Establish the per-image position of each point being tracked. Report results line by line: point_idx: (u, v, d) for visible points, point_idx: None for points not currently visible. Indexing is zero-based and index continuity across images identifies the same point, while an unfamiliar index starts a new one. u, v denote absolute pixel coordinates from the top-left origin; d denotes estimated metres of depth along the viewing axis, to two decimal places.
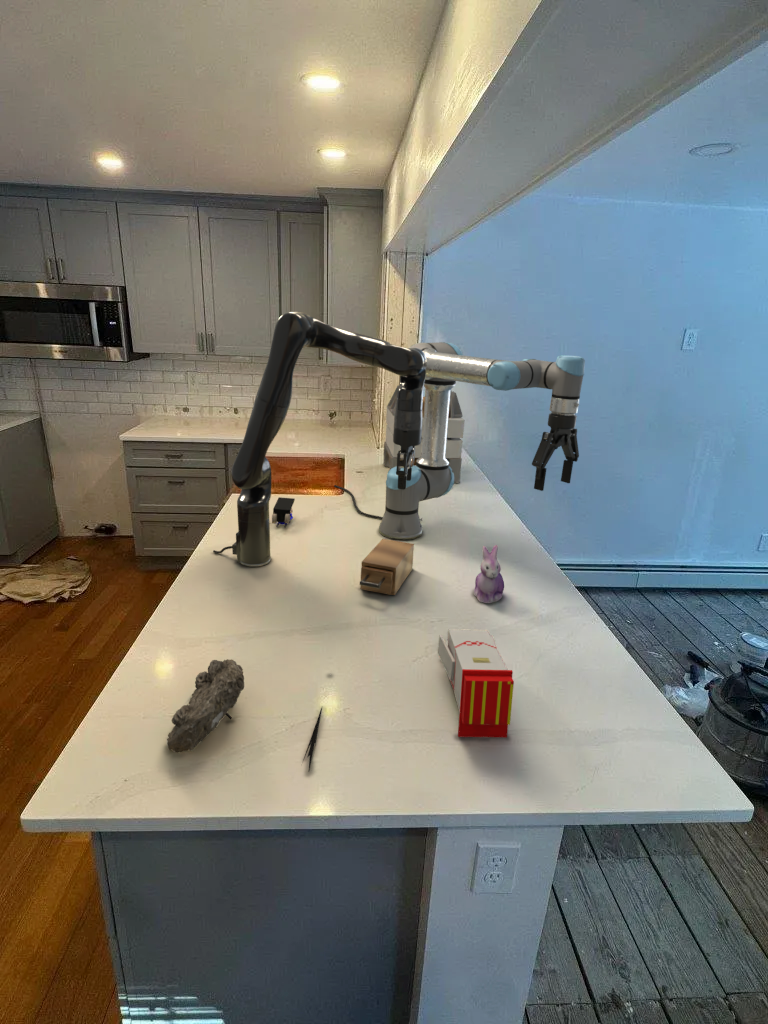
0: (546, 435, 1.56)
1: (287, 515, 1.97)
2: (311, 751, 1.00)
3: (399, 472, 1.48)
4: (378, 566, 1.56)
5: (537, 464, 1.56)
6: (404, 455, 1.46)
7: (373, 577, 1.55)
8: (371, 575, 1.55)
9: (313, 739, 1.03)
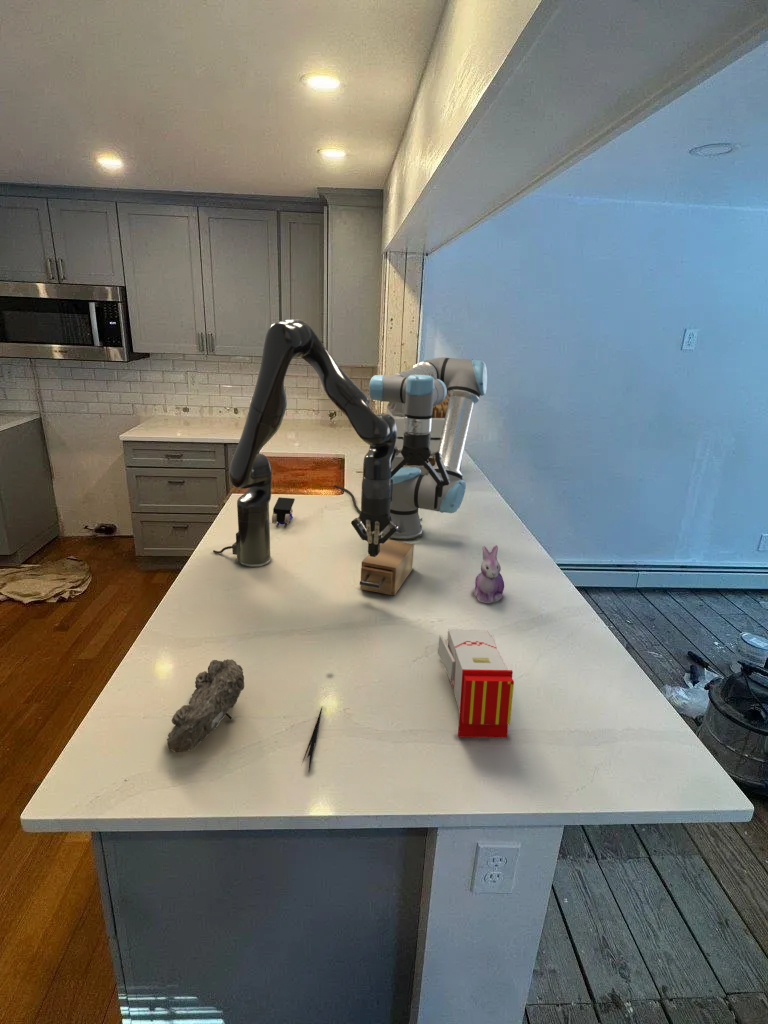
0: None
1: (287, 515, 1.97)
2: (311, 751, 1.00)
3: None
4: (378, 566, 1.56)
5: None
6: (397, 528, 1.46)
7: (373, 577, 1.55)
8: (371, 575, 1.55)
9: (313, 739, 1.03)
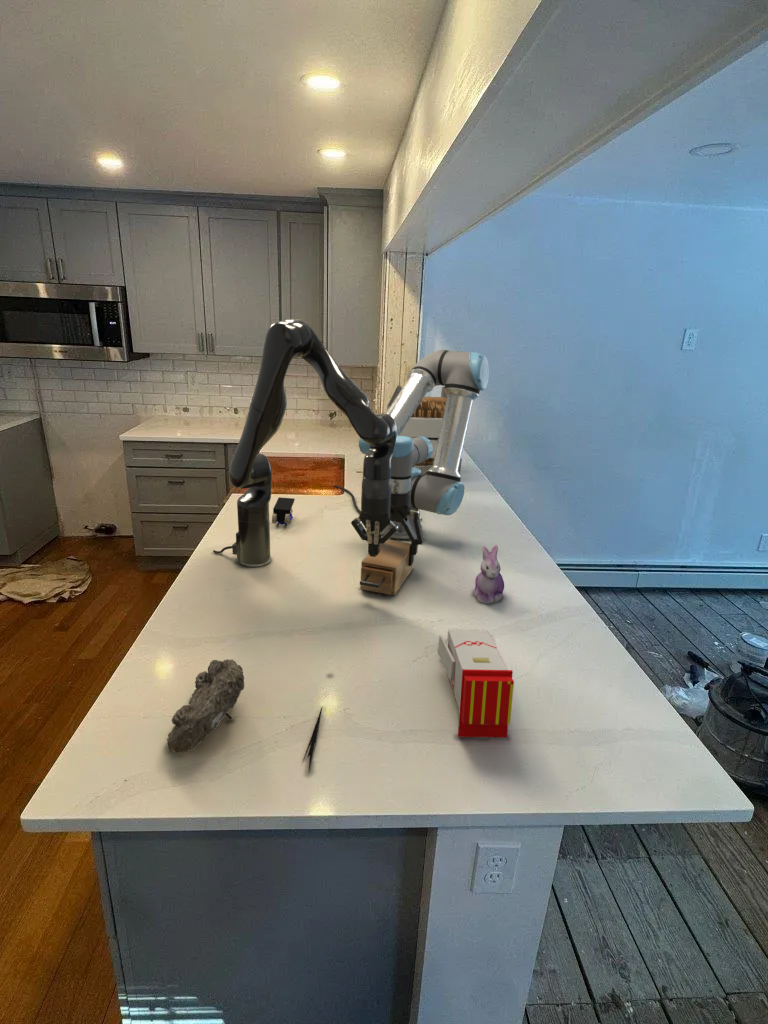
0: None
1: (287, 515, 1.97)
2: (311, 751, 1.00)
3: None
4: (378, 566, 1.56)
5: None
6: (397, 528, 1.46)
7: (373, 577, 1.55)
8: (371, 575, 1.55)
9: (313, 739, 1.03)
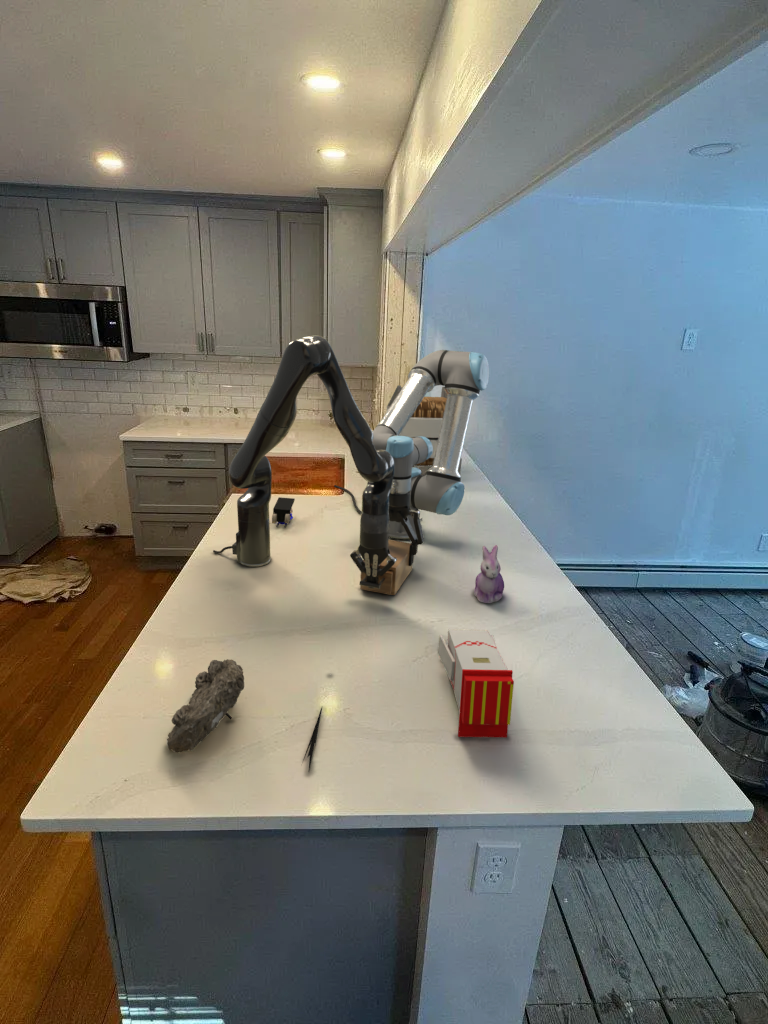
0: None
1: (287, 515, 1.97)
2: (311, 751, 1.00)
3: None
4: None
5: None
6: None
7: None
8: None
9: (313, 739, 1.03)
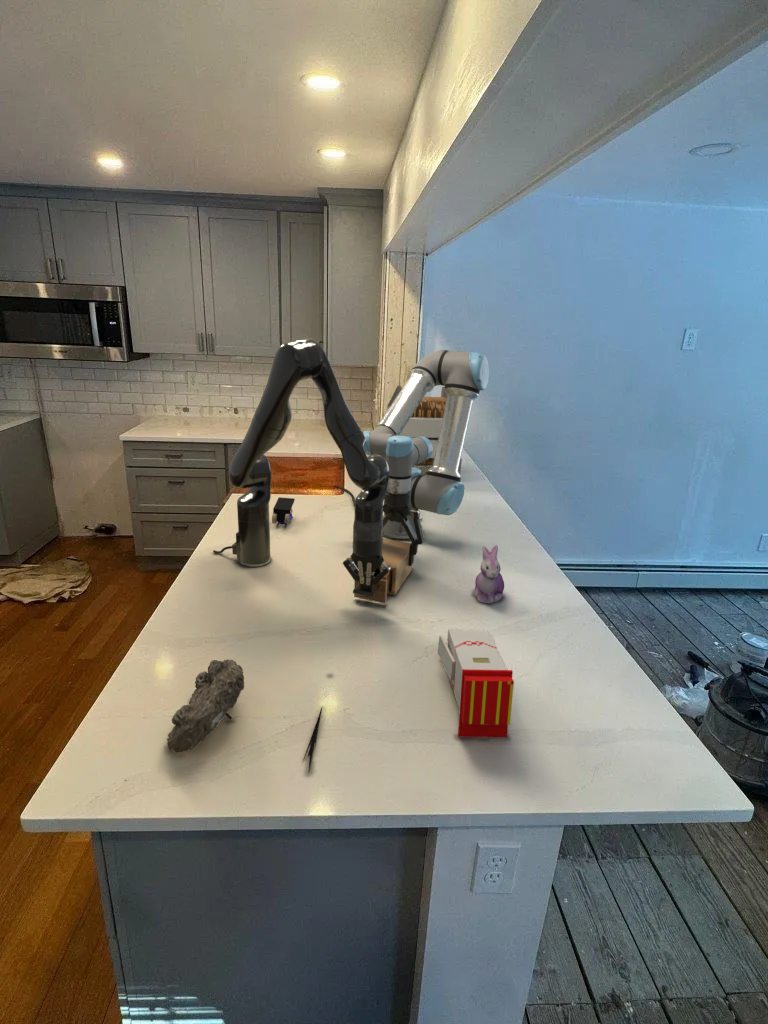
0: None
1: (287, 515, 1.97)
2: (311, 751, 1.00)
3: None
4: None
5: None
6: None
7: None
8: None
9: (313, 739, 1.03)
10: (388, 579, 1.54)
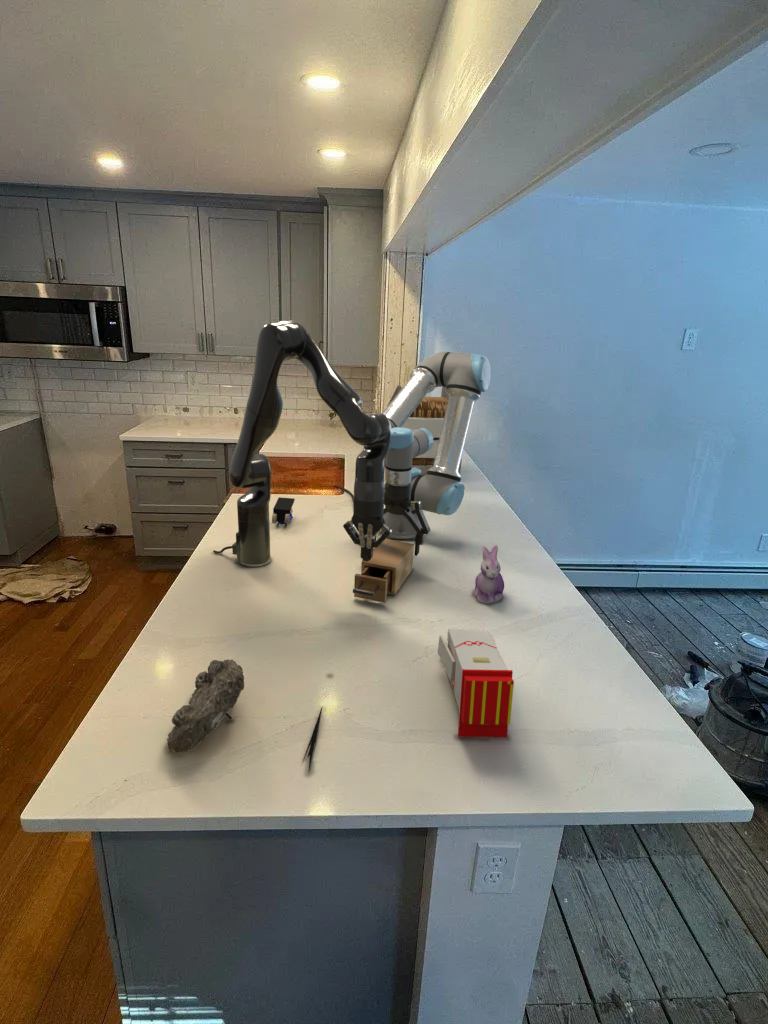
0: None
1: (287, 515, 1.97)
2: (311, 751, 1.00)
3: None
4: (378, 566, 1.56)
5: None
6: None
7: (367, 585, 1.51)
8: (365, 583, 1.51)
9: (313, 739, 1.03)
10: (388, 579, 1.54)
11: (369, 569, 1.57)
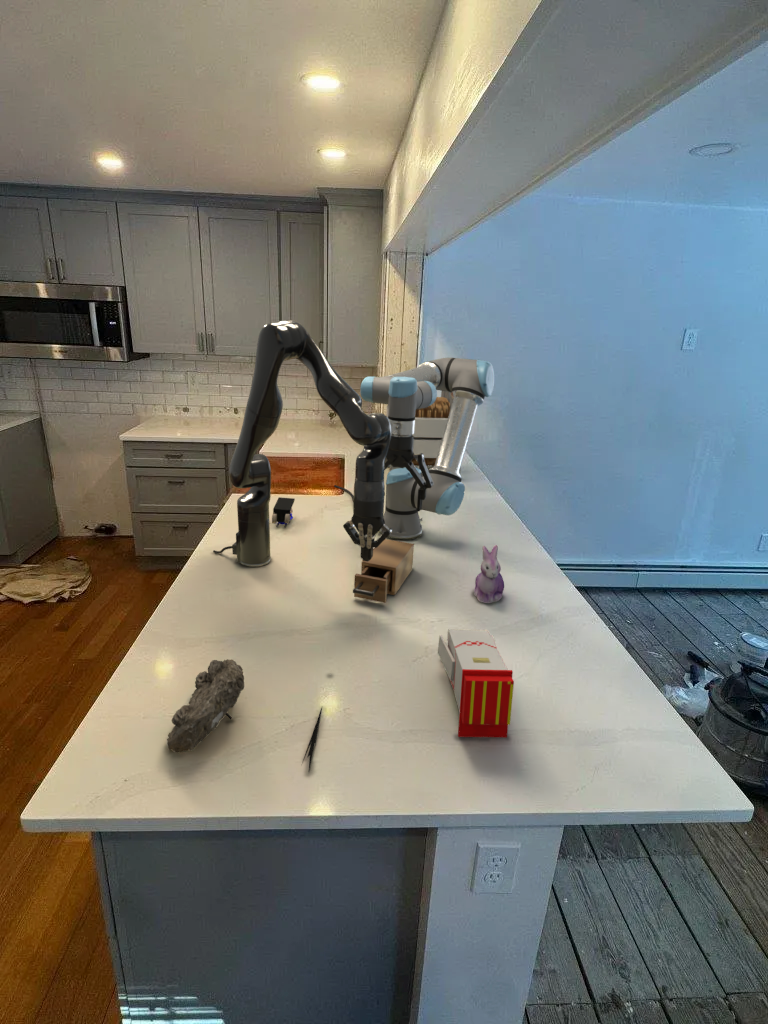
0: None
1: (287, 515, 1.97)
2: (311, 751, 1.00)
3: None
4: (378, 566, 1.56)
5: None
6: None
7: (367, 585, 1.51)
8: (365, 583, 1.51)
9: (313, 739, 1.03)
10: (388, 579, 1.54)
11: (369, 569, 1.57)
